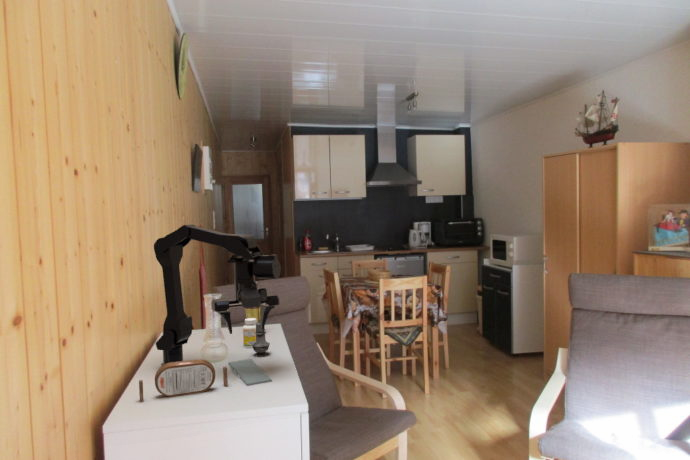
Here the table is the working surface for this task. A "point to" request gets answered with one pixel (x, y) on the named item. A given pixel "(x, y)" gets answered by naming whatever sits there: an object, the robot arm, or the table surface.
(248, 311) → the sauce bottle
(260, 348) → the salt shaker
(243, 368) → the mat
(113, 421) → the table surface
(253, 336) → the supplement bottle
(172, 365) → the tin
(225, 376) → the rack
